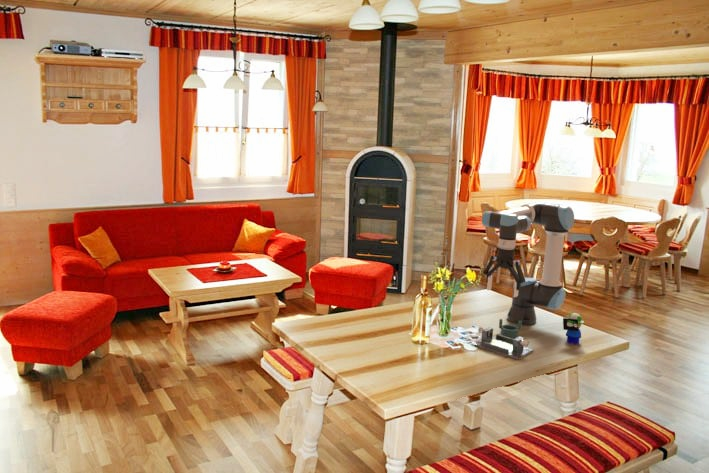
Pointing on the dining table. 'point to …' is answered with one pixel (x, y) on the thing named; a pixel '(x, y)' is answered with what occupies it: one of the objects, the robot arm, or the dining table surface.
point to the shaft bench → (503, 344)
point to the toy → (573, 327)
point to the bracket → (510, 329)
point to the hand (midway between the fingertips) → (502, 293)
